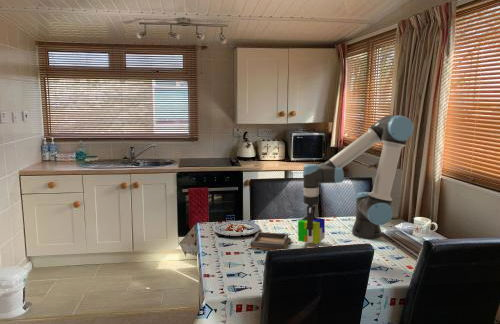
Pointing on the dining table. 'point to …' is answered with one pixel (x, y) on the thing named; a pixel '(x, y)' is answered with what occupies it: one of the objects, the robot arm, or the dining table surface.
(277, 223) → the dining table surface
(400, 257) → the dining table surface
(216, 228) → the ceramic plate
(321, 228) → the puzzle toy
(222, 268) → the dining table surface
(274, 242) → the pocket board
